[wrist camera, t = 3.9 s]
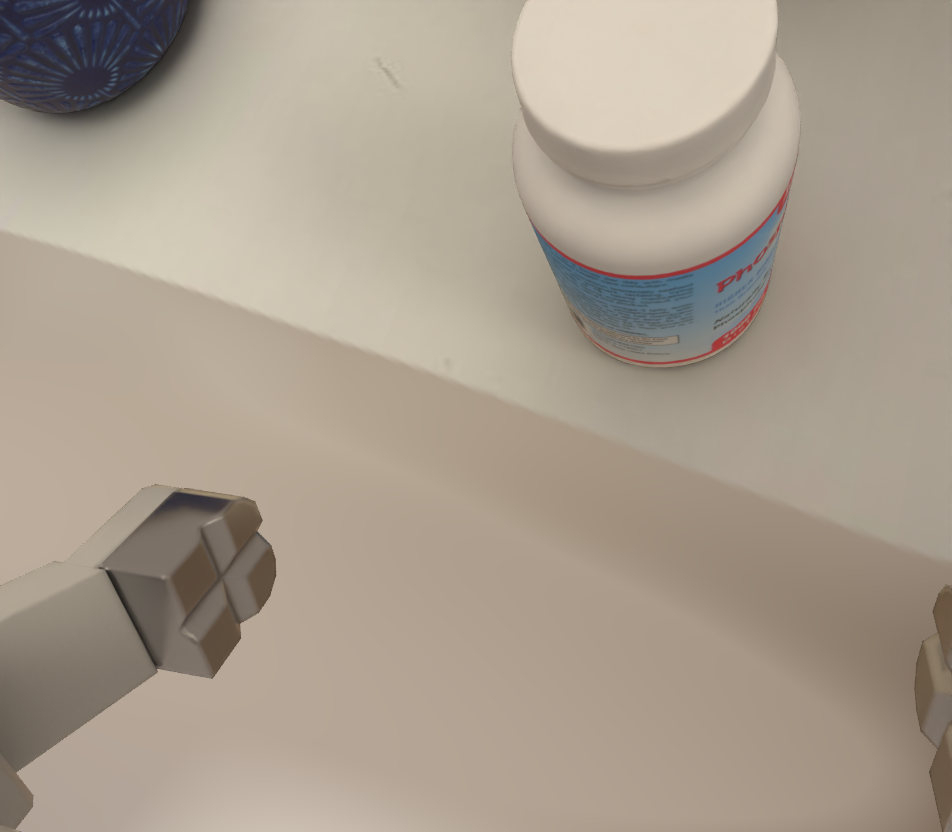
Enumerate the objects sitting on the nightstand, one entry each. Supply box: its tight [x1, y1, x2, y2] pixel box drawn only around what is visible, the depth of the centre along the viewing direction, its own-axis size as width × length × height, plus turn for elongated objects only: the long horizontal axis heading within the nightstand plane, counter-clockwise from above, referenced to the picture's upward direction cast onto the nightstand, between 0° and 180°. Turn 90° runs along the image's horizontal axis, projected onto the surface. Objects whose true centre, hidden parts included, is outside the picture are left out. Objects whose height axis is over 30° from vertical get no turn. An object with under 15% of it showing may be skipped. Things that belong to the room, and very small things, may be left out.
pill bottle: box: [511, 0, 801, 367], centre depth 18 cm, size 6×6×11 cm
